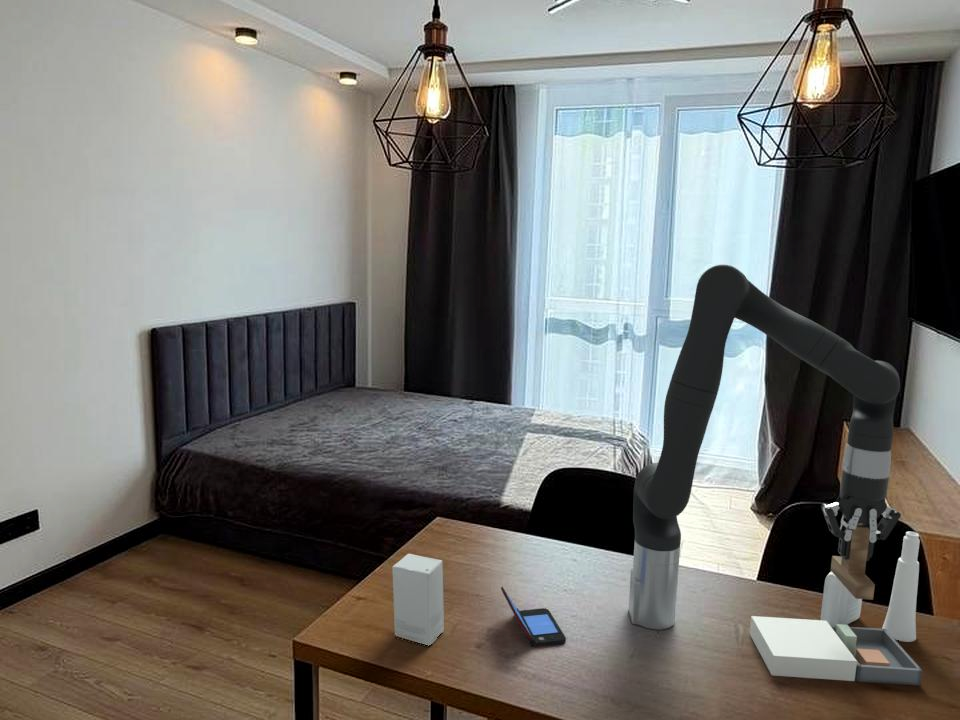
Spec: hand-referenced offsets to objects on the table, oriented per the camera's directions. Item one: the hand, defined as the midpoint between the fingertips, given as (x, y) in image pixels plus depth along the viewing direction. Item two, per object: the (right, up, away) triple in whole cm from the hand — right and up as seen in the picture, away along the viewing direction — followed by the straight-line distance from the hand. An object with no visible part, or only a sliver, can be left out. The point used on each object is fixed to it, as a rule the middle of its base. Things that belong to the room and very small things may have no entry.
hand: (854, 557), depth 128 cm
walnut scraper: (0, -5, +1) cm, 5 cm away
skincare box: (-83, -18, +9) cm, 85 cm away
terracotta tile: (+4, -19, +1) cm, 19 cm away
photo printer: (+6, -19, +17) cm, 26 cm away
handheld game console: (-60, -18, +12) cm, 64 cm away
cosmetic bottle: (+16, -20, +13) cm, 28 cm away
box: (+5, -21, +3) cm, 21 cm away
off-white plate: (-8, -20, +4) cm, 22 cm away
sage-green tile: (0, -18, +6) cm, 18 cm away
